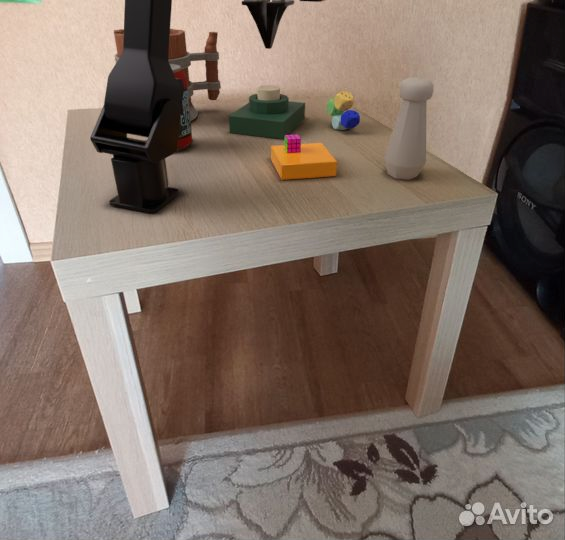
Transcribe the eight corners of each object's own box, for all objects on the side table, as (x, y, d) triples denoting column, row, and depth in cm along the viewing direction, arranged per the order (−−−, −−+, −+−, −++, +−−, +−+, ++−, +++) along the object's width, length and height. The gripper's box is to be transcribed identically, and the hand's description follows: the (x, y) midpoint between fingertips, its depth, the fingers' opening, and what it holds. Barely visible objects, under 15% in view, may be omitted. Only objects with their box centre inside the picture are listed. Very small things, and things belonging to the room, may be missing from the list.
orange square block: (321, 156, 73) (322, 129, 71) (336, 176, 67) (338, 147, 64) (270, 159, 72) (270, 132, 69) (281, 180, 65) (281, 150, 63)
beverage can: (180, 155, 73) (170, 73, 66) (142, 149, 75) (129, 69, 68) (200, 141, 78) (193, 64, 72) (164, 137, 80) (154, 61, 73)
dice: (359, 134, 83) (363, 96, 79) (346, 135, 82) (350, 97, 78) (336, 121, 89) (339, 86, 85) (324, 123, 88) (326, 87, 84)
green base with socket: (283, 139, 80) (283, 109, 77) (229, 132, 82) (228, 103, 80) (304, 118, 90) (305, 91, 87) (256, 113, 93) (255, 87, 90)
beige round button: (275, 103, 82) (275, 91, 80) (254, 101, 83) (253, 89, 81) (282, 98, 85) (283, 86, 84) (262, 96, 86) (262, 84, 85)
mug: (117, 112, 92) (101, 26, 84) (210, 102, 99) (205, 22, 91) (130, 132, 82) (114, 37, 73) (234, 120, 89) (230, 32, 80)
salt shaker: (423, 183, 65) (442, 85, 58) (381, 180, 66) (395, 82, 59) (421, 168, 70) (439, 75, 62) (382, 165, 71) (395, 73, 63)
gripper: (340, -64, 74) (333, 44, 83) (232, -64, 79) (236, 38, 88) (323, -66, 65) (317, 55, 74) (202, -67, 70) (210, 47, 79)
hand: (268, 48), depth 79 cm, fingers closed
